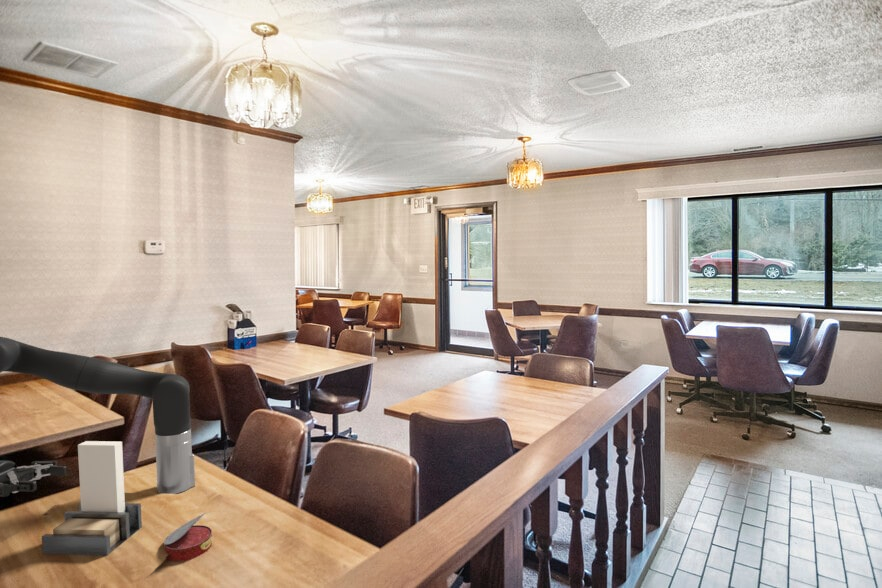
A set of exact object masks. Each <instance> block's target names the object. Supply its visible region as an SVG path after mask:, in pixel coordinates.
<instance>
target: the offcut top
mask: <svg viewBox="0 0 882 588" xmlns="http://www.w3.org/2000/svg"><path fill="white" fill-rule="evenodd" d="M118 530H119V519H77V518H69V519H68V520H66V521H65V520H64V521H63V522H62V523H60V524H58V525H56V526H55V527H54V528H52V534H67V535H110V536H112V535H113V534H114V533H116V532H117V531H118Z"/></svg>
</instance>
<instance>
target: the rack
mask: <svg viewBox="0 0 882 588" xmlns="http://www.w3.org/2000/svg"><path fill="white" fill-rule="evenodd" d="M69 518H77V519H119V536H120V540H119V541H118V542H117V543H115V544H114V545H113V546H112V547H110V535H67V534H53V533H45V534H43V535H42V536H41V549H42V550H41V551H42V555H64V556H65V555H67V556H70V555H71V556H73V555H75V556H103V557H104V556H106V557H107V556H109V555H110V554H111V553H113V551H115V550H117V548H119V547H120V546H121V545H122V544H124V542H126V541H127V540H128V539H130V538H131V537H132V536H133V535H134V534H136V533H137V532H139V530H140V529H142V527H143V526H142V524H143V521H142V503H140V502H139V503H138V502H136V503H135V502H134V503H131V502H125V512H84V511H81V502H79V504H78V510H77V511H76V510H75V511H73V510H67V511H65V512H64V518H63V519H64V521H66V520H68V519H69Z"/></svg>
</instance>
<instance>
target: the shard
mask: <svg viewBox="0 0 882 588" xmlns="http://www.w3.org/2000/svg"><path fill="white" fill-rule="evenodd" d="M64 505H65V503H60V504H55V505H51V506H50V507H49V509H48V510H47V511H46V512H45V513H43V514H41V518H42V517H43V518H45V517H47V516H48V515H50V514H51V513H53V512H54V511H57V510H58V509H60V508H61V507H63V506H64Z"/></svg>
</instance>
